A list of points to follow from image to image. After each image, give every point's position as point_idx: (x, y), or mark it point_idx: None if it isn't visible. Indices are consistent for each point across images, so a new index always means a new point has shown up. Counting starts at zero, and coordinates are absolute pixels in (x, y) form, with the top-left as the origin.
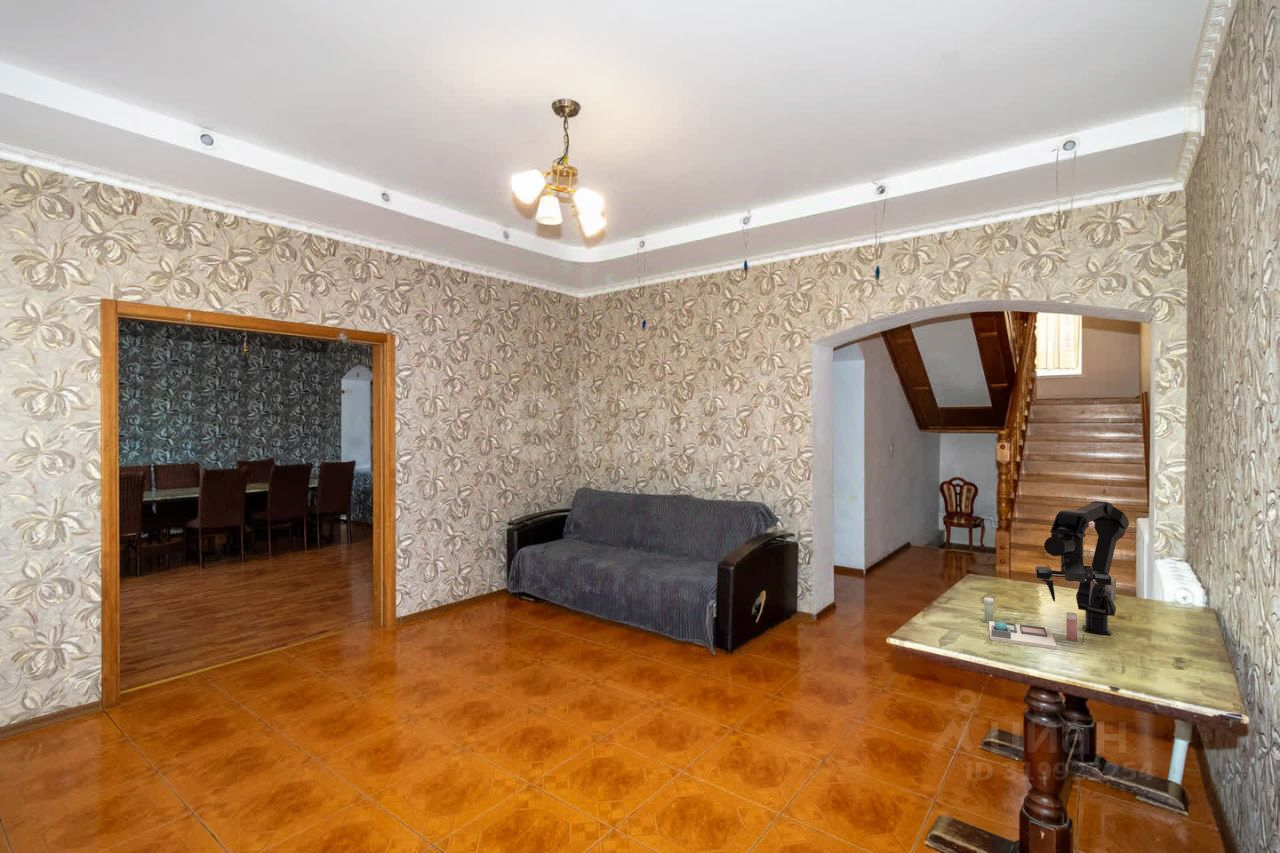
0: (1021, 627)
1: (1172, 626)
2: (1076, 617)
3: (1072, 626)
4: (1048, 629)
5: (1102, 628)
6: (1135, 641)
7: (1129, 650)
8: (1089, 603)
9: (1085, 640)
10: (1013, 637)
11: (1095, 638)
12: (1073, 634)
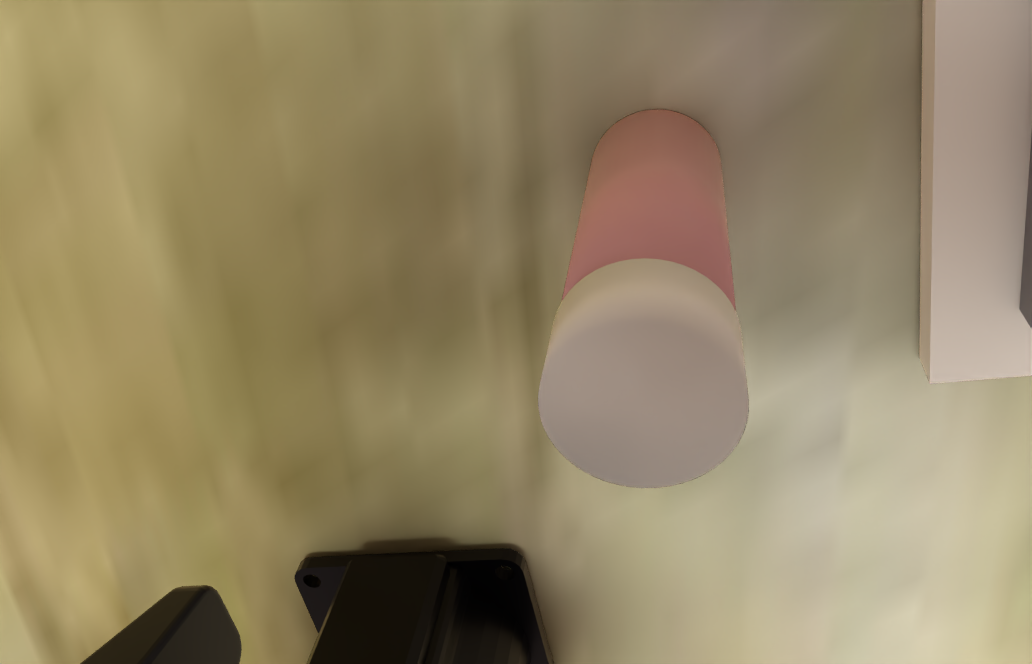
0: None
1: None
2: (552, 333)
3: (633, 207)
4: (961, 348)
5: (344, 595)
6: (88, 496)
7: (16, 136)
8: (222, 660)
9: (494, 248)
10: None
11: (408, 394)
12: (625, 153)
